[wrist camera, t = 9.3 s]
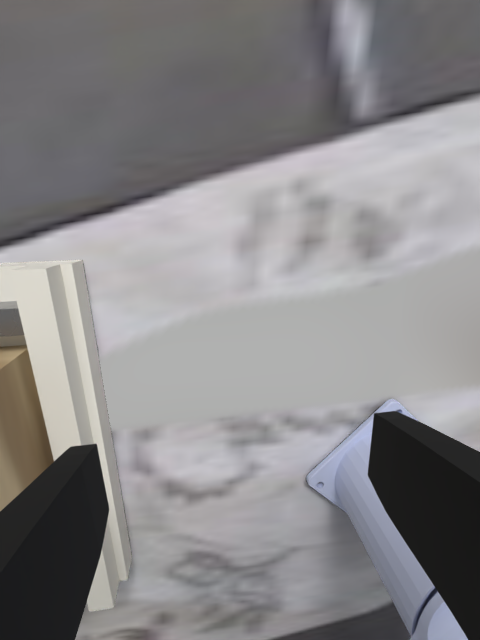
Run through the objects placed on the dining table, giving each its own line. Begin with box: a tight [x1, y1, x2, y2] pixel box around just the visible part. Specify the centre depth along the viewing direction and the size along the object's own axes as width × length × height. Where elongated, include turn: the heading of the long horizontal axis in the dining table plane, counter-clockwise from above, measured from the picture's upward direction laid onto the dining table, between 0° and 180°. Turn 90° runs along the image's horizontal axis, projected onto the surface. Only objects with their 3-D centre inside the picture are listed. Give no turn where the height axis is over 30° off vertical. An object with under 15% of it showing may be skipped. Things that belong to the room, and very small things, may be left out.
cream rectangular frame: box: [0, 260, 132, 612], centre depth 17 cm, size 20×9×3 cm, turn 1°
